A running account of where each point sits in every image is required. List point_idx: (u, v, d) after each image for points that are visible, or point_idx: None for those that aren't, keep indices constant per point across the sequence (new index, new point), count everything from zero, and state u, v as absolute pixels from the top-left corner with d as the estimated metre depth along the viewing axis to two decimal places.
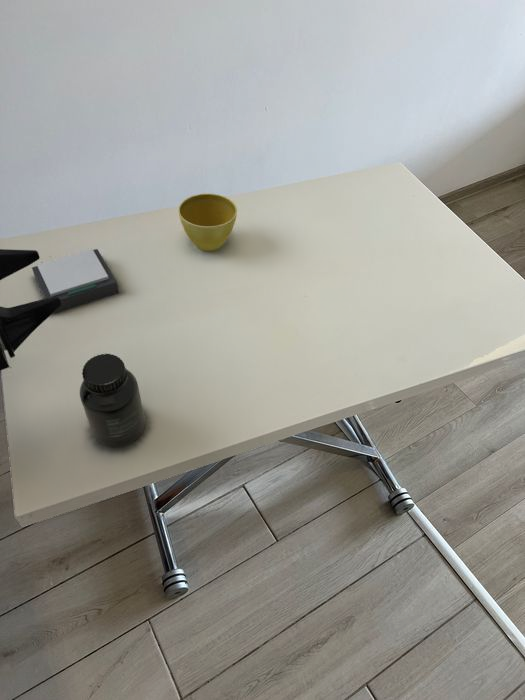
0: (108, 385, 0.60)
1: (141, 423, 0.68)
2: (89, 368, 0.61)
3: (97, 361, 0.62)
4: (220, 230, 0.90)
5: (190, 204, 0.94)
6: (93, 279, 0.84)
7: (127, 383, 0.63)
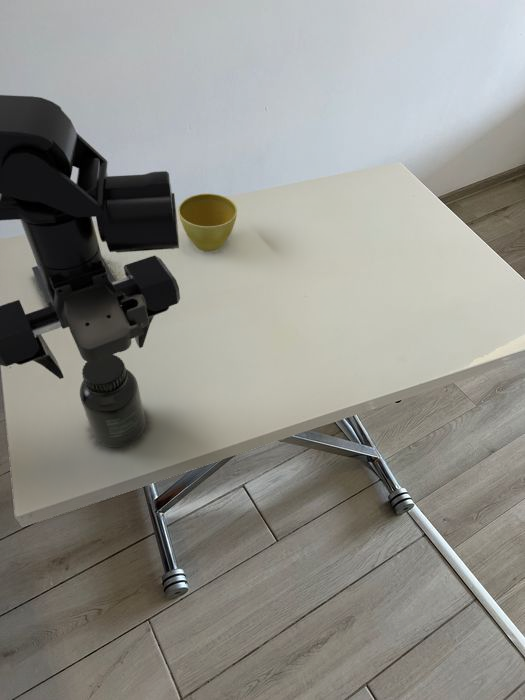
0: (108, 385, 0.60)
1: (141, 423, 0.68)
2: (89, 368, 0.61)
3: (97, 361, 0.62)
4: (220, 230, 0.90)
5: (190, 204, 0.94)
6: None
7: (127, 383, 0.63)
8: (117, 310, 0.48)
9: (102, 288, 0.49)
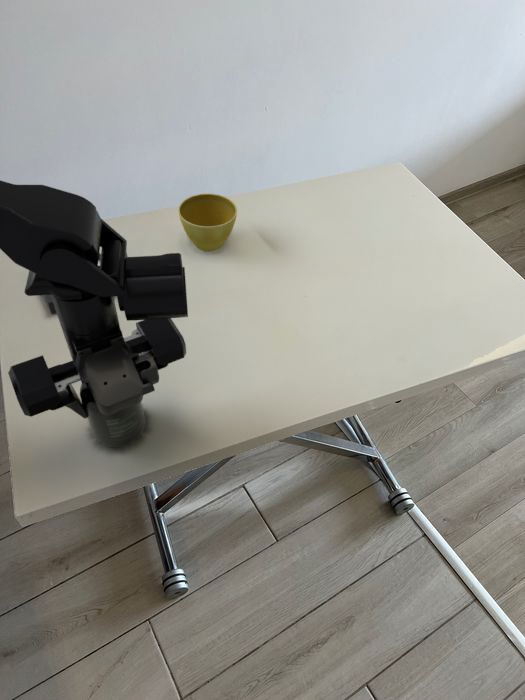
0: None
1: (141, 423, 0.68)
2: None
3: None
4: (220, 230, 0.90)
5: (190, 204, 0.94)
6: None
7: None
8: (132, 370, 0.55)
9: (119, 349, 0.55)
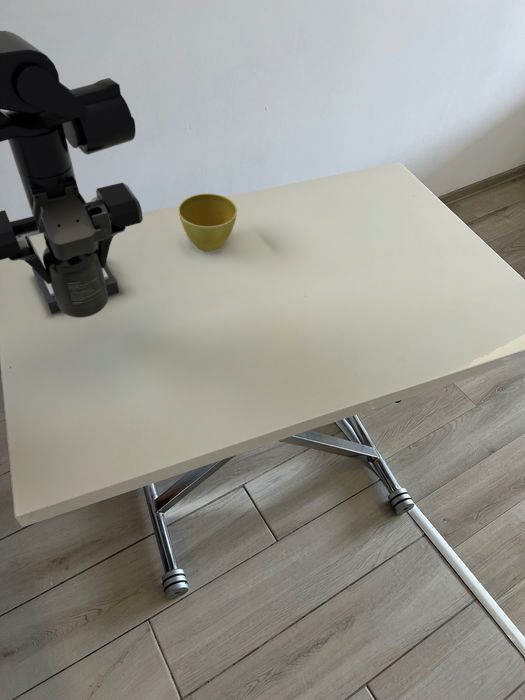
0: None
1: (103, 294, 0.72)
2: None
3: None
4: (220, 230, 0.90)
5: (190, 204, 0.94)
6: None
7: None
8: (85, 216, 0.58)
9: (73, 198, 0.59)
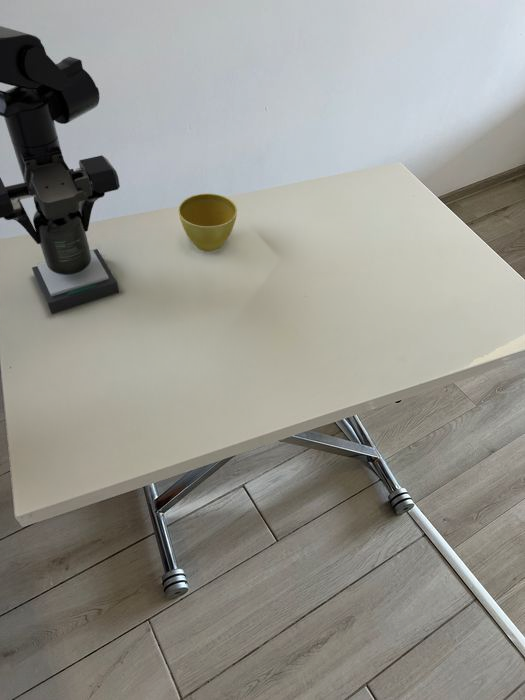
0: None
1: (86, 254, 0.82)
2: None
3: None
4: (220, 230, 0.90)
5: (190, 204, 0.94)
6: (93, 279, 0.84)
7: None
8: (69, 180, 0.69)
9: (59, 165, 0.69)
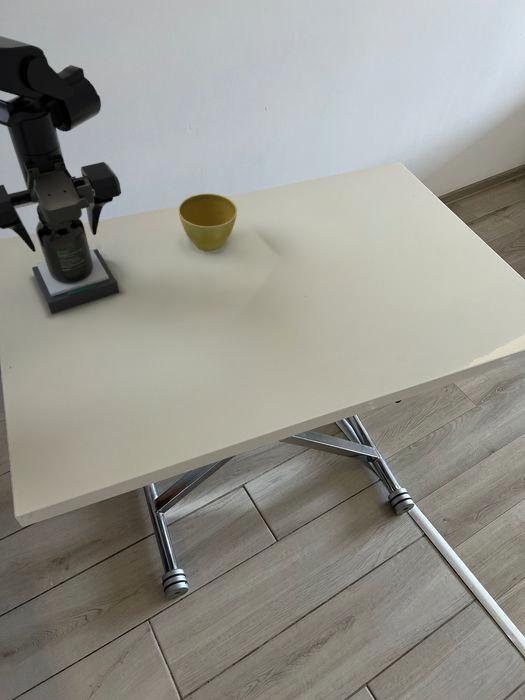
0: None
1: (88, 263, 0.83)
2: None
3: None
4: (220, 230, 0.90)
5: (190, 204, 0.94)
6: (93, 279, 0.84)
7: (74, 222, 0.79)
8: (71, 188, 0.70)
9: (61, 173, 0.70)
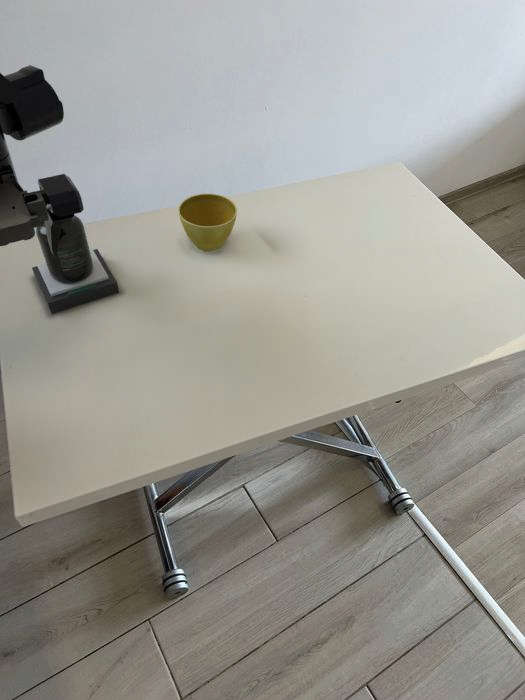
0: None
1: (88, 263, 0.83)
2: None
3: None
4: (220, 230, 0.90)
5: (190, 204, 0.94)
6: (93, 279, 0.84)
7: (74, 222, 0.79)
8: (21, 203, 0.60)
9: (10, 187, 0.61)
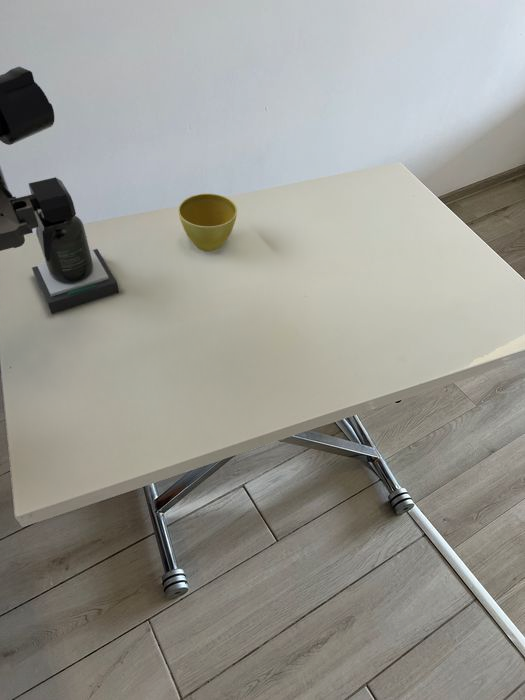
0: None
1: (88, 263, 0.83)
2: None
3: None
4: (220, 230, 0.90)
5: (190, 204, 0.94)
6: (93, 279, 0.84)
7: (74, 222, 0.79)
8: (9, 210, 0.58)
9: None
